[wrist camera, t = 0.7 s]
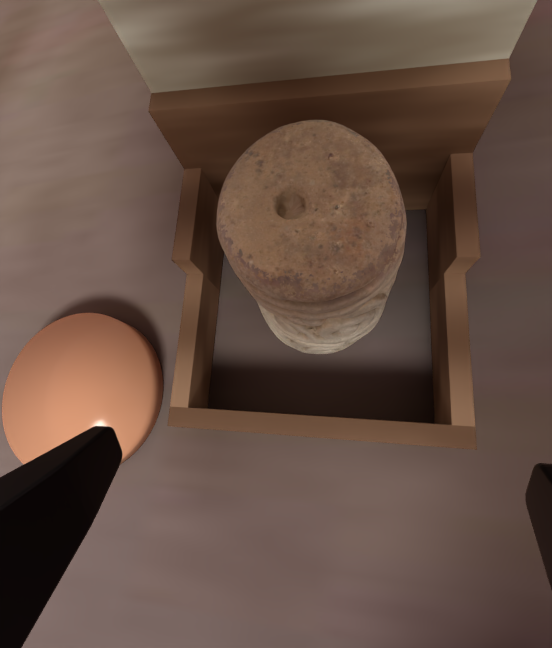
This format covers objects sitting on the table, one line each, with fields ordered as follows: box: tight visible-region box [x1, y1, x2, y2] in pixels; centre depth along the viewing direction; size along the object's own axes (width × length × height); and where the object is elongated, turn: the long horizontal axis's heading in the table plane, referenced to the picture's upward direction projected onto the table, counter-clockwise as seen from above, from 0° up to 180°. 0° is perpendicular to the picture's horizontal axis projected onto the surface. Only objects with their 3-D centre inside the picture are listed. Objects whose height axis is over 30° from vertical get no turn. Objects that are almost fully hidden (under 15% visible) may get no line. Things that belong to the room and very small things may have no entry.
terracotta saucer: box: [2, 313, 163, 464], centre depth 22 cm, size 10×10×2 cm
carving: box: [217, 120, 407, 354], centre depth 16 cm, size 6×8×12 cm
